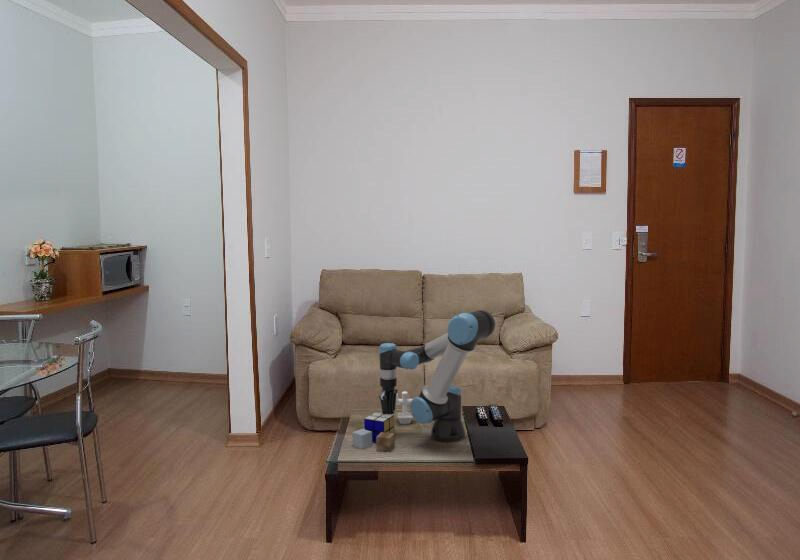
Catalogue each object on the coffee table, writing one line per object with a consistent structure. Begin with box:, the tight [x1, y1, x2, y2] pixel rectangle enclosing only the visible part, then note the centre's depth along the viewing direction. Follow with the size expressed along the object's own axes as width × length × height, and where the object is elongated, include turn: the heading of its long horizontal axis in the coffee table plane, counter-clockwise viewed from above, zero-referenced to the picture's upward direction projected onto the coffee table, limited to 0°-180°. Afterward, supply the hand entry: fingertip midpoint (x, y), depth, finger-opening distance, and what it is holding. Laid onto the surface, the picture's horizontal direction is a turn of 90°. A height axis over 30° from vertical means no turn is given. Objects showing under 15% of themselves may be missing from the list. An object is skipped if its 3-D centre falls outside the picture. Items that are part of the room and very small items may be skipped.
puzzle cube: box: [363, 412, 395, 443], centre depth 256 cm, size 10×10×10 cm
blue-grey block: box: [351, 428, 373, 450], centre depth 249 cm, size 6×6×6 cm
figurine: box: [395, 390, 414, 425], centre depth 277 cm, size 7×9×15 cm
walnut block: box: [375, 432, 396, 453], centre depth 245 cm, size 6×6×6 cm
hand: (389, 427), depth 264 cm, fingers closed
